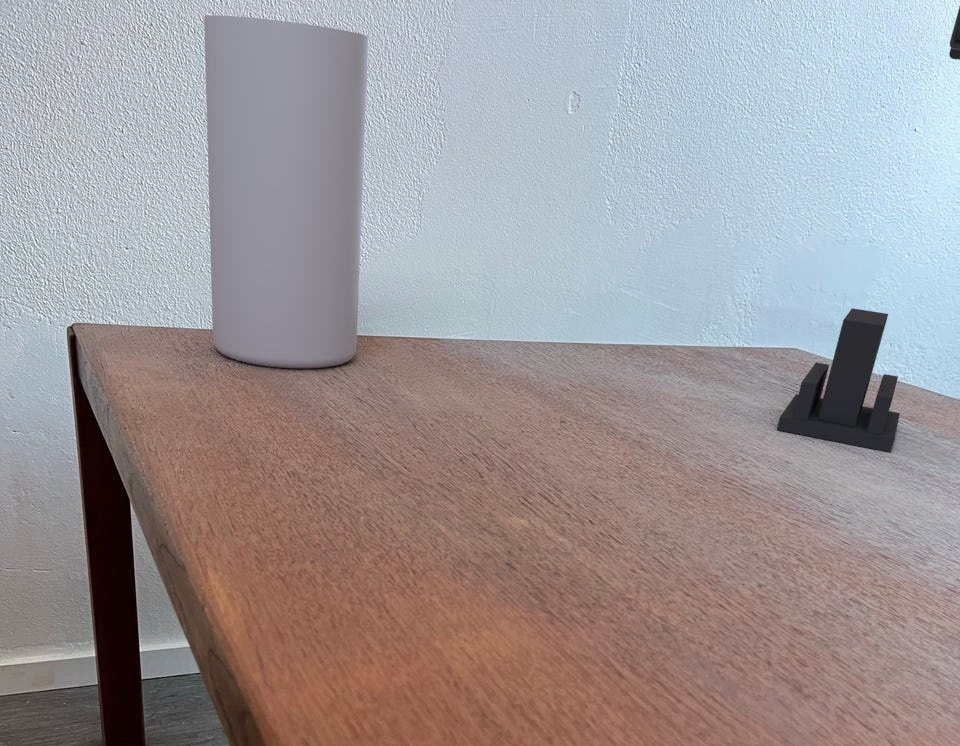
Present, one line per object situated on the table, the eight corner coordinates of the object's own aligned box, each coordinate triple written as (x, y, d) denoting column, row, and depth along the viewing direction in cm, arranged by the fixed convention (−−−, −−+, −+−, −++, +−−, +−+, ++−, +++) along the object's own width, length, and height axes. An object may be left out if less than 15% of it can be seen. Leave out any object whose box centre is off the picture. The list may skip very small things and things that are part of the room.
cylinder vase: (325, 378, 82) (334, 25, 70) (187, 356, 84) (173, 10, 72) (374, 352, 93) (389, 43, 81) (250, 333, 95) (247, 29, 83)
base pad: (792, 406, 89) (804, 360, 87) (896, 426, 87) (910, 378, 85) (776, 430, 81) (789, 379, 79) (890, 452, 78) (906, 400, 76)
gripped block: (827, 401, 87) (851, 308, 83) (862, 408, 86) (888, 313, 83) (817, 420, 80) (843, 319, 77) (855, 427, 80) (883, 325, 76)
